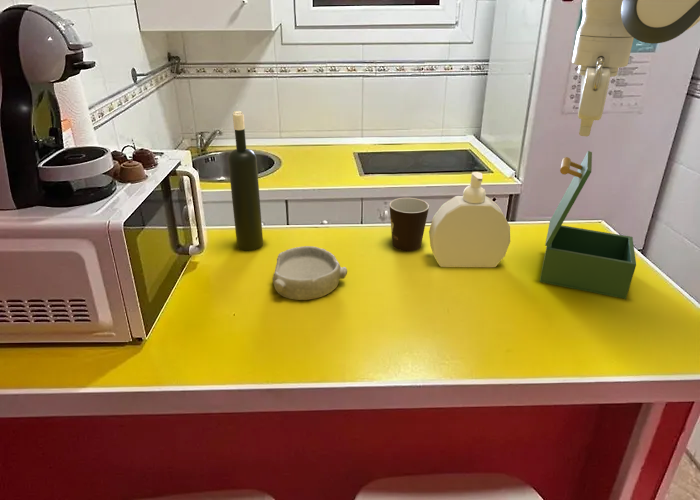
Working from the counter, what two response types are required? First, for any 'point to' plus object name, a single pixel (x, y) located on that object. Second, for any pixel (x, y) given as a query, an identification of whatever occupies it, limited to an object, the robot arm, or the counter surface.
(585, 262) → the green box
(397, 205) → the coffee mug
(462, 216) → the soap bottle
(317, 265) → the dish
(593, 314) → the counter surface
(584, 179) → the lid
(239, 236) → the wine bottle
